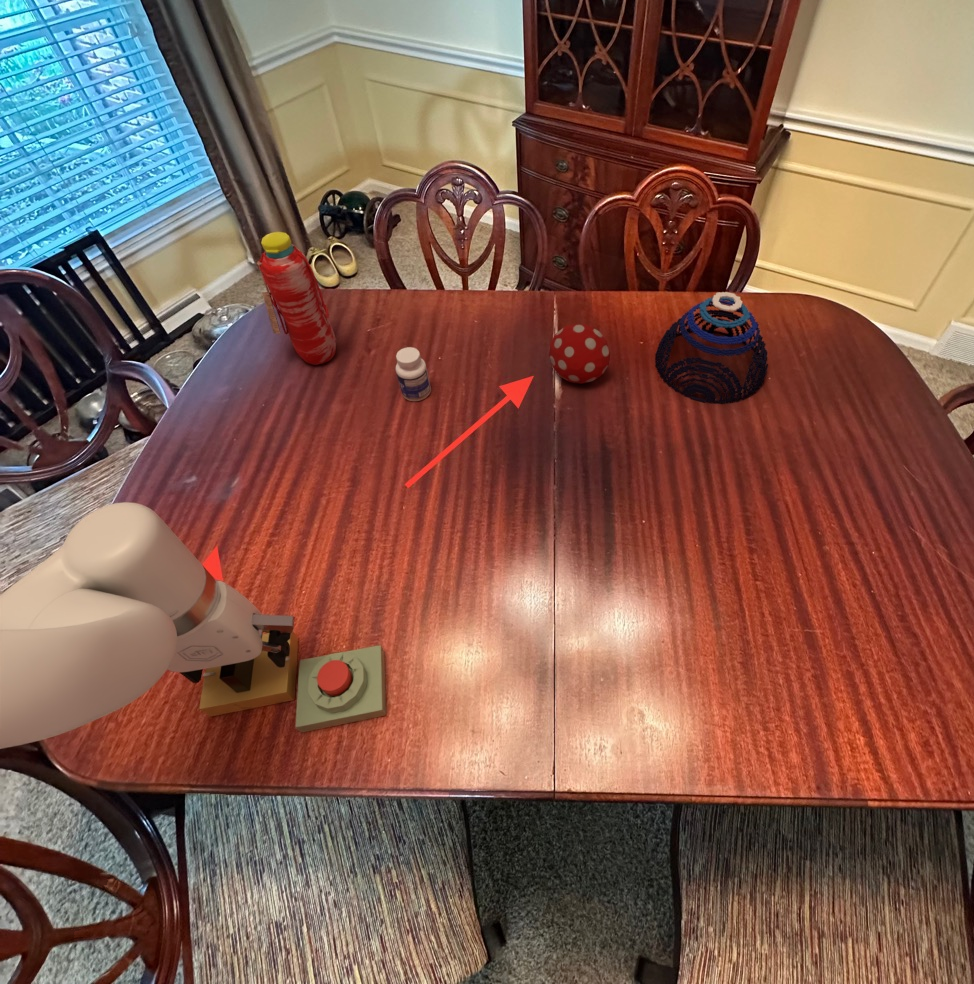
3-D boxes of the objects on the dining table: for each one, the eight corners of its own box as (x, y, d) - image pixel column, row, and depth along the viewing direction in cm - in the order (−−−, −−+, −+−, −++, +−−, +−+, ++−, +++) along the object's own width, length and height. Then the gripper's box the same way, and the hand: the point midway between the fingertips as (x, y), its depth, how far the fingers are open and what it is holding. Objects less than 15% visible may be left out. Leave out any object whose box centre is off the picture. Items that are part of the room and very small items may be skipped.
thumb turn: (250, 690, 72) (232, 675, 68) (236, 693, 71) (218, 677, 67) (256, 642, 75) (240, 625, 71) (243, 644, 75) (226, 627, 71)
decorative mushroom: (549, 322, 116) (531, 348, 103) (600, 296, 112) (588, 320, 99) (576, 371, 120) (562, 402, 107) (626, 348, 115) (618, 377, 102)
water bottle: (274, 368, 113) (218, 249, 94) (288, 340, 118) (238, 222, 99) (337, 371, 112) (293, 251, 93) (349, 343, 117) (309, 224, 98)
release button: (320, 698, 70) (316, 693, 69) (321, 668, 73) (317, 663, 71) (351, 692, 71) (348, 687, 69) (352, 662, 73) (348, 657, 72)
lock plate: (208, 717, 73) (197, 709, 70) (218, 653, 78) (208, 643, 75) (295, 700, 74) (286, 691, 71) (299, 637, 79) (291, 628, 76)
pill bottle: (400, 384, 110) (390, 346, 103) (429, 379, 110) (421, 341, 104) (403, 404, 106) (393, 367, 99) (432, 399, 107) (425, 362, 100)
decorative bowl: (641, 385, 109) (652, 321, 98) (670, 321, 120) (682, 257, 109) (754, 416, 103) (778, 352, 92) (772, 345, 115) (795, 281, 104)
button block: (301, 732, 71) (289, 722, 68) (304, 666, 76) (294, 654, 73) (386, 715, 72) (379, 705, 69) (384, 651, 78) (377, 638, 74)
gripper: (68, 651, 56) (159, 708, 69) (260, 618, 58) (313, 680, 71) (92, 579, 61) (172, 645, 74) (268, 551, 63) (317, 620, 76)
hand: (241, 662), depth 72 cm, fingers open, 9 cm apart
